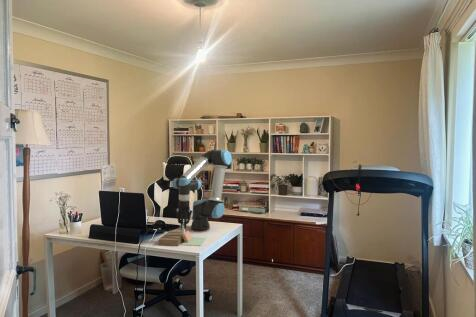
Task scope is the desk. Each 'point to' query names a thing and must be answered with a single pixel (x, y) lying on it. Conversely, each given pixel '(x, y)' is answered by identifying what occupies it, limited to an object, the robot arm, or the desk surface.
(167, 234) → the deck
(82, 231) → the desk surface
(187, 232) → the card
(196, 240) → the mat
